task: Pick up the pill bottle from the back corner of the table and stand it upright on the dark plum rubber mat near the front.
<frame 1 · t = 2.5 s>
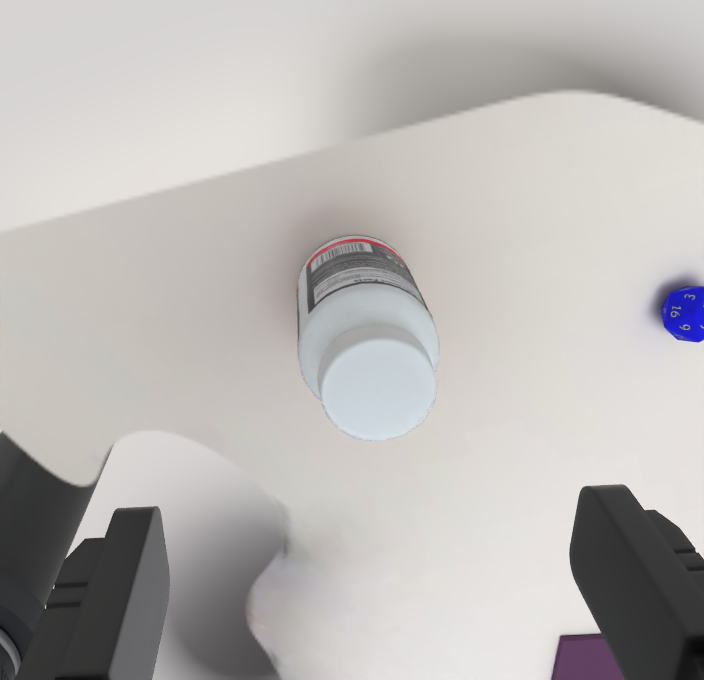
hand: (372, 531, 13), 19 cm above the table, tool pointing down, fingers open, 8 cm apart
pill bottle: (354, 286, 32), on the table
die: (676, 302, 33), on the table
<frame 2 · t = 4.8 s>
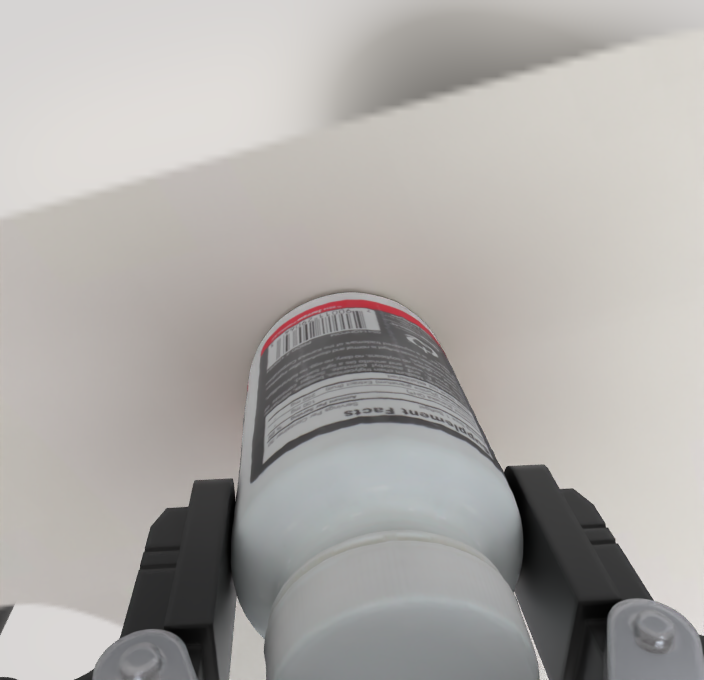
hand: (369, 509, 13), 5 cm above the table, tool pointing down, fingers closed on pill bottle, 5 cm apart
pill bottle: (348, 375, 19), on the table, touching gripper
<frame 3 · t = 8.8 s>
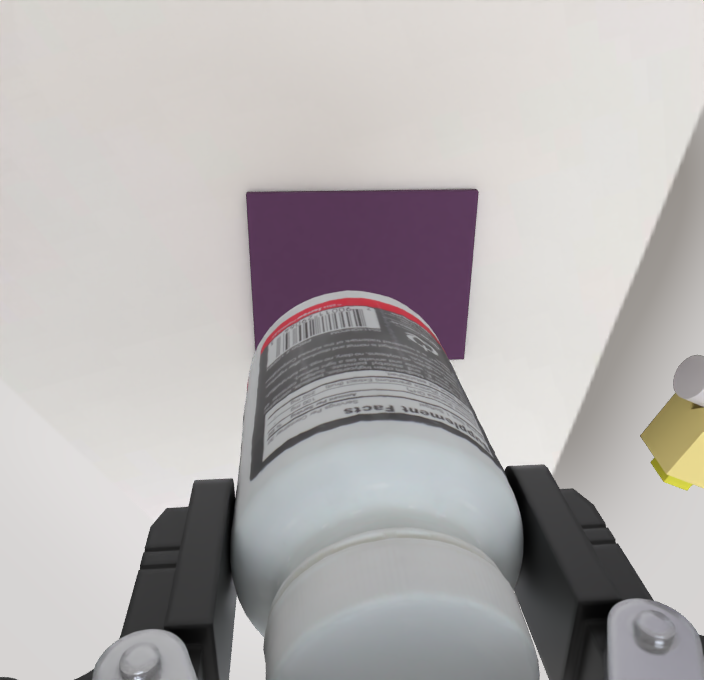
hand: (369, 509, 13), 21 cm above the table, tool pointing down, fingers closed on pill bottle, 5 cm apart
pill bottle: (348, 373, 19), point 16 cm above the table, touching gripper
mat: (361, 279, 34), on the table
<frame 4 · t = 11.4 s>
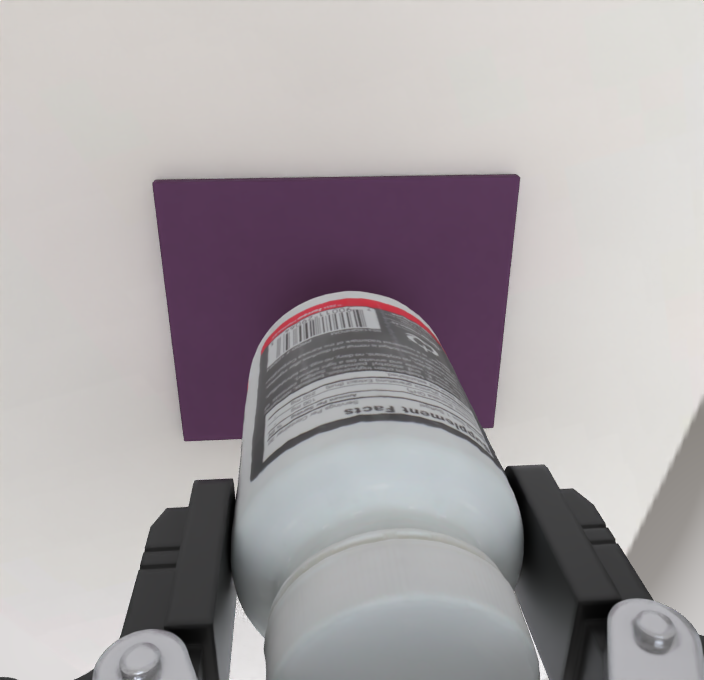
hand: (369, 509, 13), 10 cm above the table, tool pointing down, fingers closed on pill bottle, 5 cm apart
pill bottle: (348, 374, 19), point 4 cm above the table, touching gripper
mat: (340, 313, 22), on the table
when the fingers open (6 cm above the table, at t = 13.0 s): pill bottle stays where it is, resting on mat.
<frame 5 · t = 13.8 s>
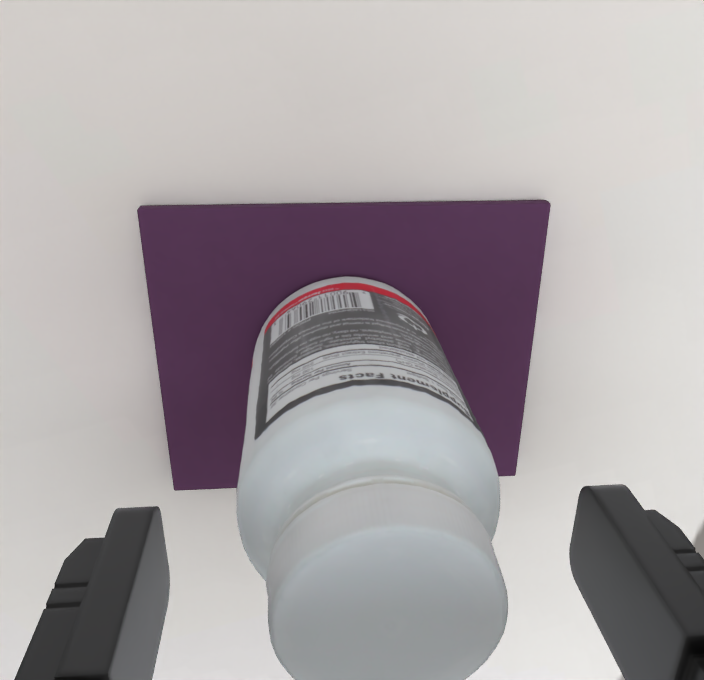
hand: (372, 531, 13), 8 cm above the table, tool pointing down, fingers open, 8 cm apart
pill bottle: (345, 354, 20), resting on mat
mat: (347, 352, 20), on the table
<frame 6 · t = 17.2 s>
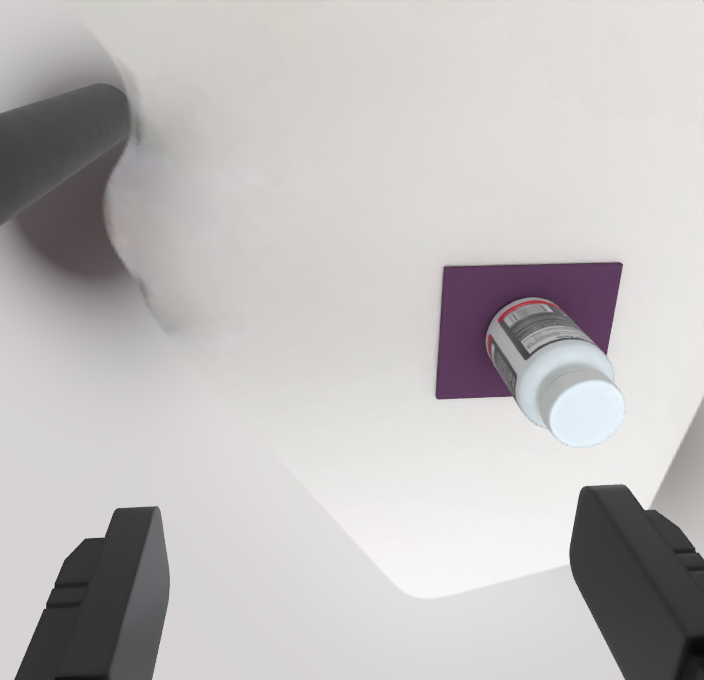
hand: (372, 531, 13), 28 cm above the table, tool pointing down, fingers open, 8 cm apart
pill bottle: (524, 333, 43), resting on mat
mat: (524, 331, 43), on the table
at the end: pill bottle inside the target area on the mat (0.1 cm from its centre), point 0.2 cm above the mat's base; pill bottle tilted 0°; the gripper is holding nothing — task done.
